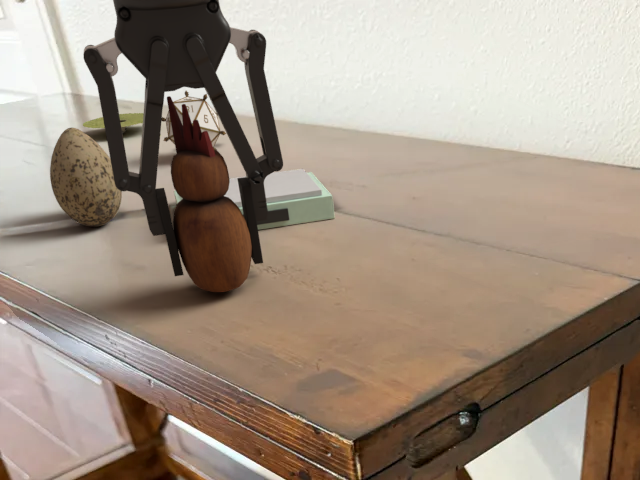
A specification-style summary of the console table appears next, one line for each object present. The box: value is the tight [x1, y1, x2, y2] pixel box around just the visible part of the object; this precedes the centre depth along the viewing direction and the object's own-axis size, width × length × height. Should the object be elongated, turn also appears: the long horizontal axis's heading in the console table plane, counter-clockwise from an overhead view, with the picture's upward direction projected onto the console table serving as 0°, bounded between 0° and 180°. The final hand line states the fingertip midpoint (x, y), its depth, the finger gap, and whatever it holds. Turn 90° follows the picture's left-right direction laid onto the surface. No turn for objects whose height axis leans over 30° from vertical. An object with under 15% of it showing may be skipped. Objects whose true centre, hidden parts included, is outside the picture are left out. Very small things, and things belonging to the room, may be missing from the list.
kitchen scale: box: [173, 168, 336, 231], centre depth 90 cm, size 16×11×3 cm
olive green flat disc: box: [82, 112, 144, 134], centre depth 130 cm, size 11×11×2 cm
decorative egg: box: [49, 127, 123, 228], centre depth 88 cm, size 7×7×10 cm
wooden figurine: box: [166, 95, 252, 293], centre depth 68 cm, size 7×6×15 cm
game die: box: [161, 90, 227, 151], centre depth 112 cm, size 9×8×10 cm
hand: (217, 264), depth 71 cm, fingers closed on wooden figurine, 6 cm apart
